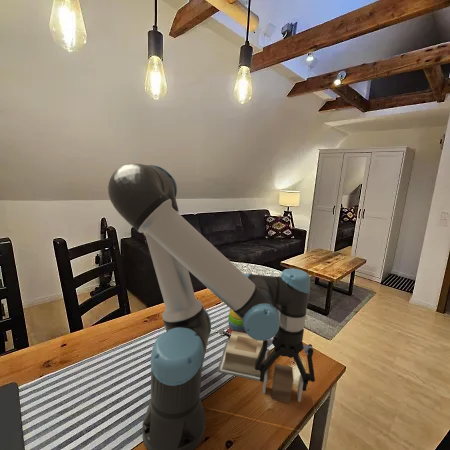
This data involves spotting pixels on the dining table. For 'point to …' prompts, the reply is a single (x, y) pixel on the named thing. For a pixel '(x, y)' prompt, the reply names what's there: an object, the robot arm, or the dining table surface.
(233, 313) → the stacking bear
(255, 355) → the plinth block
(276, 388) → the walnut block
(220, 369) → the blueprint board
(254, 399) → the dining table surface
